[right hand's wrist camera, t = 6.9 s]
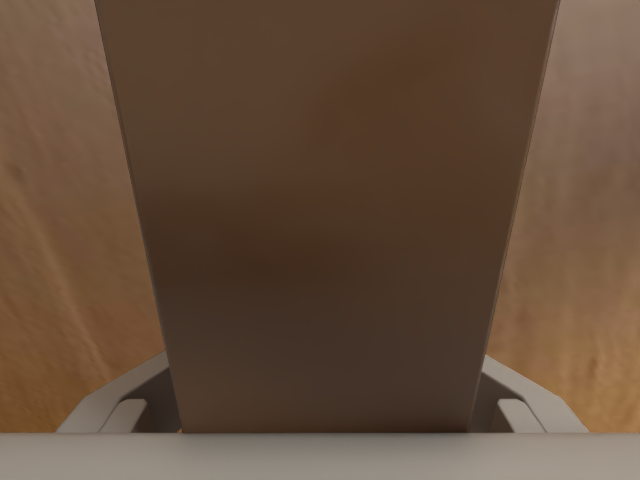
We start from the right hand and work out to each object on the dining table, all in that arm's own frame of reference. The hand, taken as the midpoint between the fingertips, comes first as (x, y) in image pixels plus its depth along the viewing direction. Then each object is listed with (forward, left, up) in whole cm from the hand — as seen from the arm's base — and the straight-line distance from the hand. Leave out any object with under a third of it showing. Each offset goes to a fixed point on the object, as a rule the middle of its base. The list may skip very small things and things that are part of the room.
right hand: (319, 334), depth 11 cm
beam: (+22, -15, -3) cm, 27 cm away
